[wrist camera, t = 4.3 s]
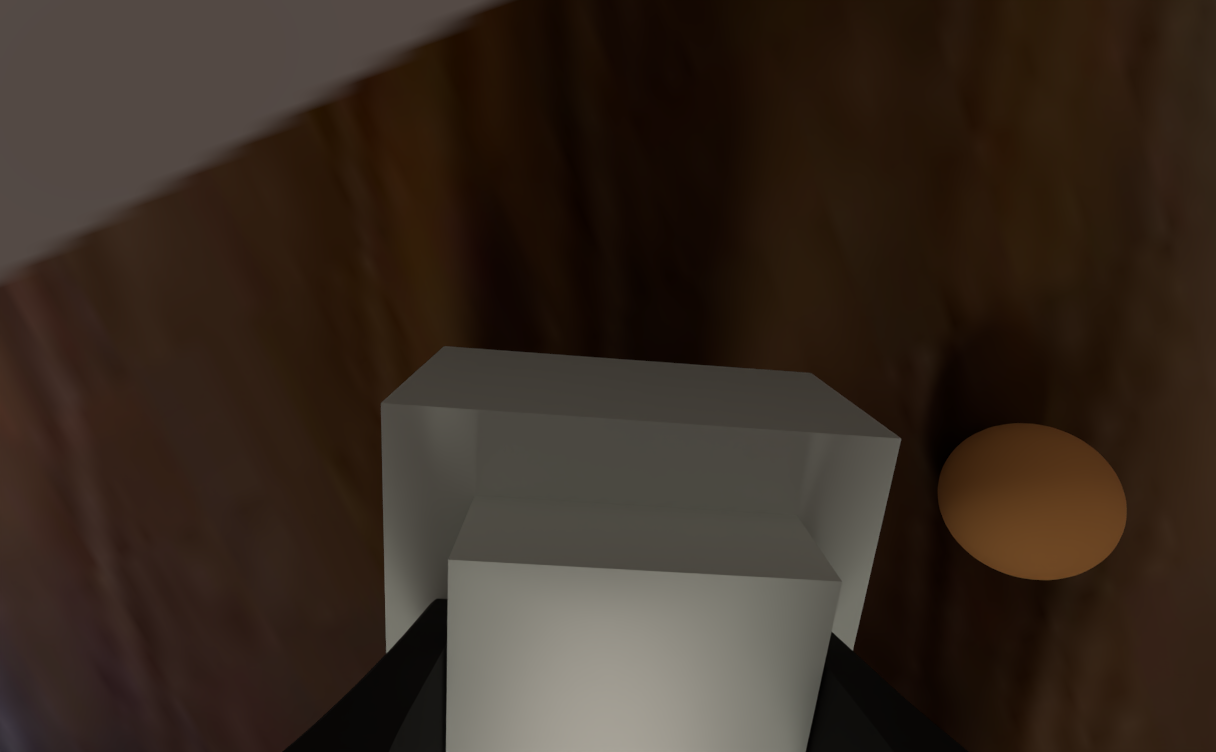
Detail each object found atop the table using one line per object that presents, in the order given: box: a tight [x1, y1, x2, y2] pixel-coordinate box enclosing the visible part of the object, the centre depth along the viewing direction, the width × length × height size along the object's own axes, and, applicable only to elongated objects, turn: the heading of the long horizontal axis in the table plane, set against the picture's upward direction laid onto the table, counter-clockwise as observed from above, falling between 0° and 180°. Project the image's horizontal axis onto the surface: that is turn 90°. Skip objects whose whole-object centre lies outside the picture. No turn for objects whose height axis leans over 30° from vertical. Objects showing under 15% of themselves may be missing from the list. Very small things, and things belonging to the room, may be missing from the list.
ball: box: [938, 423, 1127, 580], centre depth 19 cm, size 5×5×5 cm
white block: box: [381, 346, 901, 752], centre depth 12 cm, size 9×9×6 cm
